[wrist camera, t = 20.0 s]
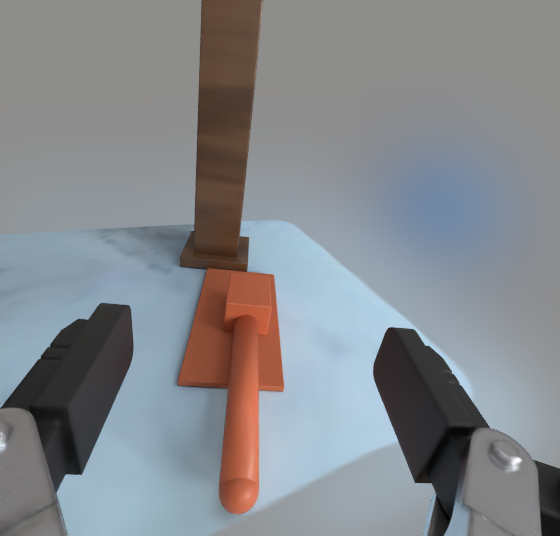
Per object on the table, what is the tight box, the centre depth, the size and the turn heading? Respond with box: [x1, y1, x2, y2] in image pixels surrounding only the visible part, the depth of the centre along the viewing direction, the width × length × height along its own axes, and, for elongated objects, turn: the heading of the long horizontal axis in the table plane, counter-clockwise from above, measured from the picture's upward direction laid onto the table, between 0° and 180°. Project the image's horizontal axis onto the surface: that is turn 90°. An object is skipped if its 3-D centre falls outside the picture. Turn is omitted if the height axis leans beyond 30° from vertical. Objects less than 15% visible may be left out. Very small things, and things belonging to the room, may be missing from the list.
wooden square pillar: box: [180, 0, 263, 272], centre depth 26 cm, size 6×6×32 cm
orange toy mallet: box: [219, 273, 271, 514], centre depth 19 cm, size 15×3×2 cm, turn 3°
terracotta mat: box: [178, 268, 284, 391], centre depth 25 cm, size 13×6×1 cm, turn 3°
